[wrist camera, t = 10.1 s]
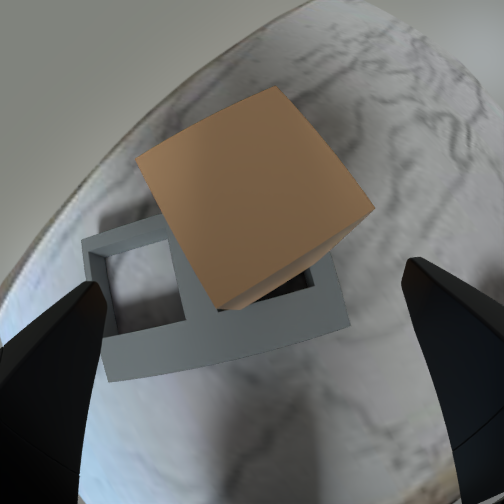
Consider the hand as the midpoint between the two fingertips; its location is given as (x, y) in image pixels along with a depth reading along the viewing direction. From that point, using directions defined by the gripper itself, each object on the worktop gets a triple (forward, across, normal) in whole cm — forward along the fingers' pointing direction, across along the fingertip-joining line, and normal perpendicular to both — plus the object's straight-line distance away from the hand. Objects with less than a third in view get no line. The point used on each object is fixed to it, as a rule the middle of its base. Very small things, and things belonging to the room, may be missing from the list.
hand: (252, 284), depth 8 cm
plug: (+11, 0, +7) cm, 13 cm away
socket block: (+10, +3, +8) cm, 13 cm away
